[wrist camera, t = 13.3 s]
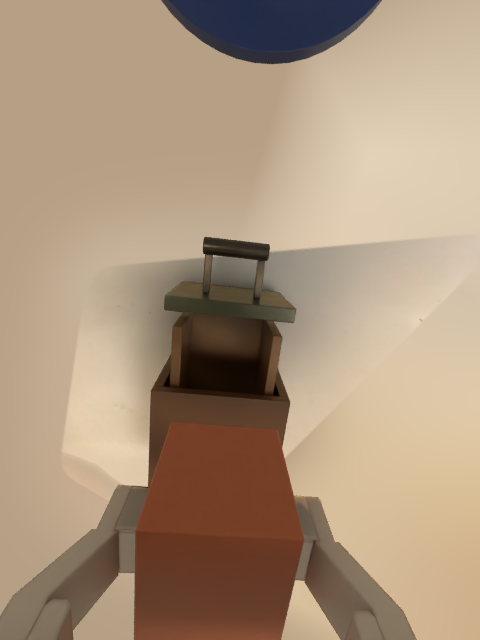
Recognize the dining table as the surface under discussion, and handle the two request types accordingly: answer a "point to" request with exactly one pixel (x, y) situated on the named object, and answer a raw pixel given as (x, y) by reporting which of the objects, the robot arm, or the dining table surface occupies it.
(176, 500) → the block
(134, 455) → the dining table surface
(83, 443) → the dining table surface
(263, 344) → the drawer
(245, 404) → the cabinet
